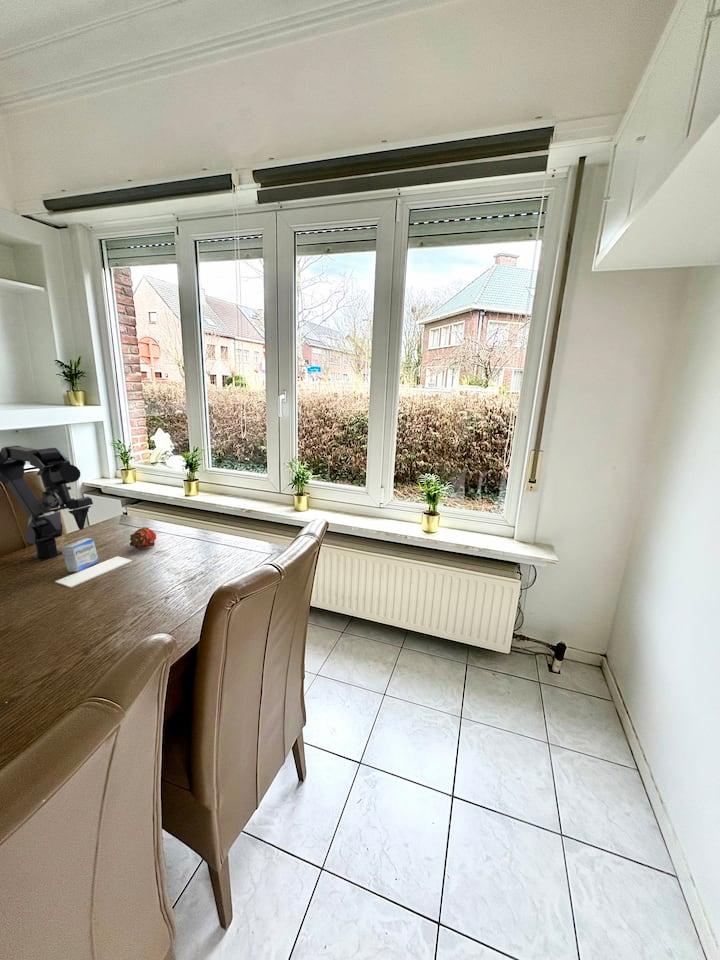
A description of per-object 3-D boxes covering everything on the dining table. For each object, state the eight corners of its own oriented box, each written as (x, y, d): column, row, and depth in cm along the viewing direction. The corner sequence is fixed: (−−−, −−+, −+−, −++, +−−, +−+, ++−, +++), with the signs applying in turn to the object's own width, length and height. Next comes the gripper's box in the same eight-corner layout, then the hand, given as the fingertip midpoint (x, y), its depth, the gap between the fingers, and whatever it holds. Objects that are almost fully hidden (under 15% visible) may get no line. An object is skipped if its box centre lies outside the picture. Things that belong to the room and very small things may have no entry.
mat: (55, 582, 117) (55, 581, 117) (117, 557, 135) (117, 556, 135) (70, 587, 114) (70, 586, 114) (132, 561, 132) (132, 560, 132)
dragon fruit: (140, 558, 138) (144, 550, 149) (160, 542, 140) (162, 535, 151) (122, 542, 135) (127, 535, 146) (143, 526, 138) (146, 520, 148)
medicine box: (78, 572, 123) (72, 547, 121) (67, 571, 124) (60, 547, 122) (99, 561, 130) (93, 538, 128) (88, 561, 131) (82, 538, 129)
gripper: (7, 496, 118) (23, 543, 120) (54, 485, 114) (70, 535, 116) (42, 489, 129) (57, 533, 131) (86, 479, 125) (101, 524, 127)
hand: (70, 531), depth 126 cm, fingers open, 9 cm apart
